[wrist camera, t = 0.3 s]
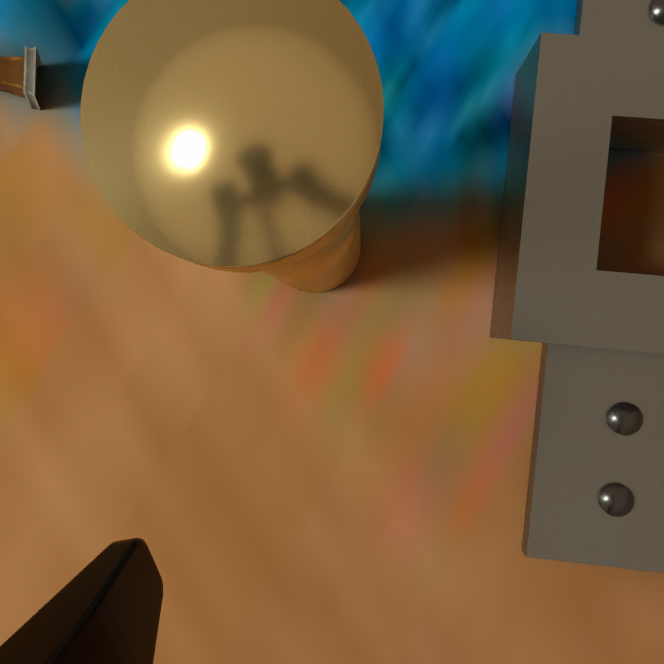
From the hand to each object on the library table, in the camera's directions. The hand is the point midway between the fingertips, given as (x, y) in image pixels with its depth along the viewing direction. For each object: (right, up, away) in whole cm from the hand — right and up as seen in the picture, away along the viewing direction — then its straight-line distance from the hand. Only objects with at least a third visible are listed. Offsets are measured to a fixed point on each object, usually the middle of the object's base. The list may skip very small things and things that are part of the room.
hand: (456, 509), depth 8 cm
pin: (-2, +6, +14) cm, 15 cm away
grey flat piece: (+10, +7, +13) cm, 18 cm away
